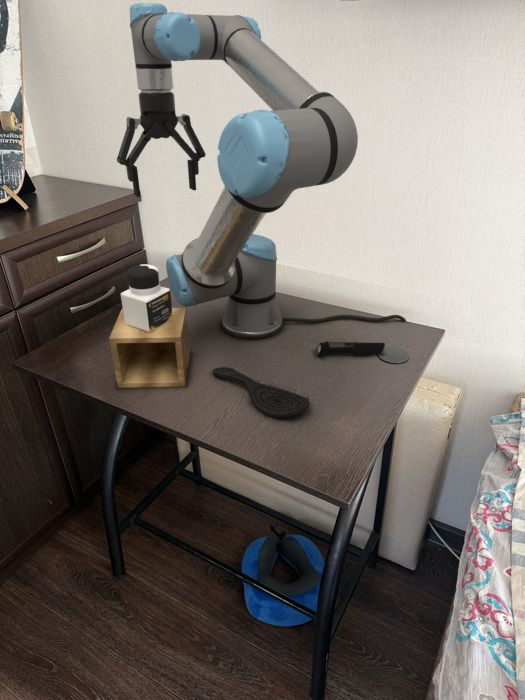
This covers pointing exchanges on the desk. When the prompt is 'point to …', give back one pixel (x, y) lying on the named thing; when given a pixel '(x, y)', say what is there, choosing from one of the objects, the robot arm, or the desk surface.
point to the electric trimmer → (349, 348)
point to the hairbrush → (267, 395)
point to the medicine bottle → (146, 299)
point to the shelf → (151, 353)
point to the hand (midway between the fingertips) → (165, 192)
